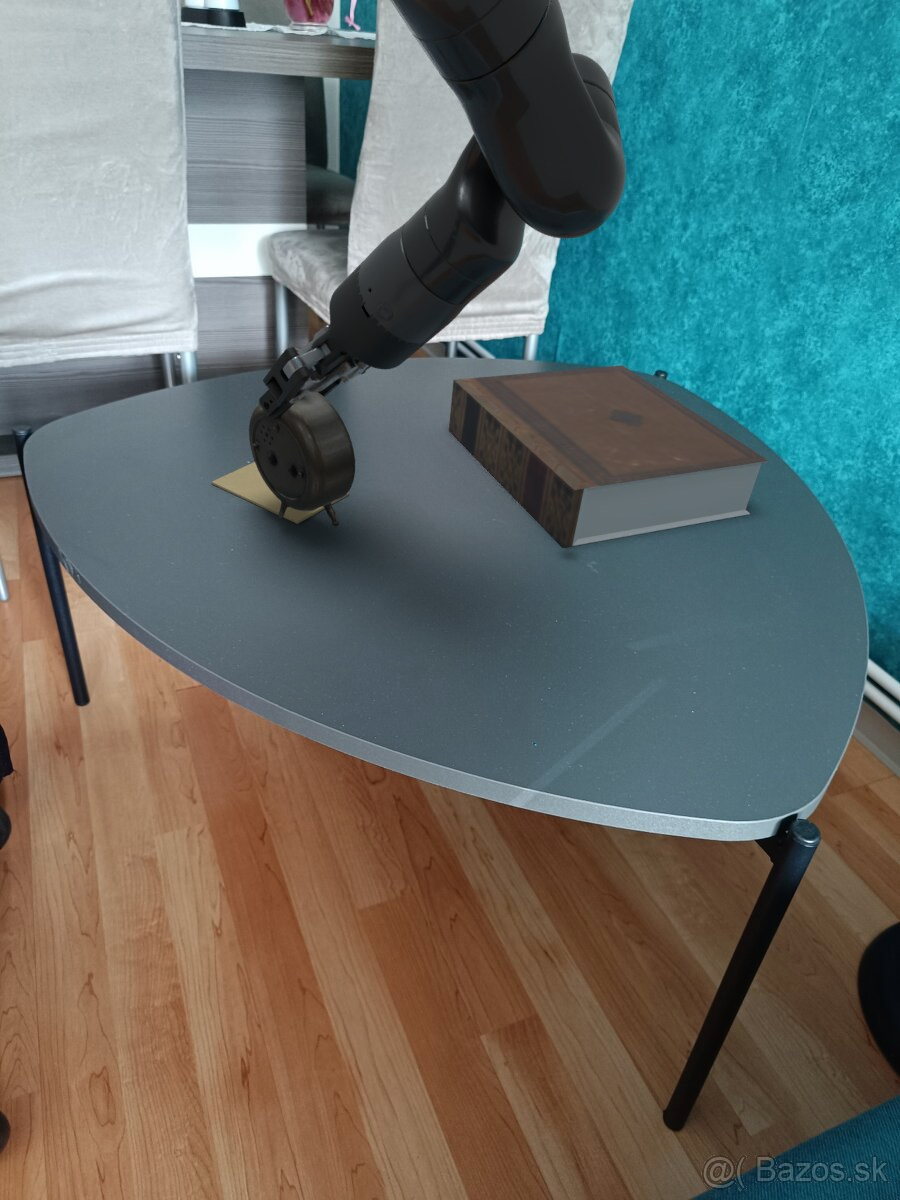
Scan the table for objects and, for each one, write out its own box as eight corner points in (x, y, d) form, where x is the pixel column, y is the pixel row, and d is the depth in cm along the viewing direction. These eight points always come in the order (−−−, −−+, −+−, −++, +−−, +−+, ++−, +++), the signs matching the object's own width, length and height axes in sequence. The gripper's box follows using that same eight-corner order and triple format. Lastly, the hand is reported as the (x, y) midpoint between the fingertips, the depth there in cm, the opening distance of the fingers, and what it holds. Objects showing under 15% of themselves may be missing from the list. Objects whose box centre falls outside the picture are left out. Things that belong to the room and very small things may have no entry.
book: (562, 547, 83) (574, 490, 79) (448, 430, 103) (453, 379, 99) (750, 514, 92) (768, 460, 89) (612, 412, 112) (622, 365, 109)
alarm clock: (357, 526, 80) (361, 360, 70) (313, 545, 76) (311, 374, 67) (286, 483, 85) (281, 325, 76) (242, 498, 82) (231, 335, 73)
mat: (297, 524, 82) (297, 521, 82) (211, 484, 87) (211, 481, 87) (349, 495, 88) (349, 492, 88) (265, 459, 93) (265, 456, 93)
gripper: (430, 238, 67) (319, 346, 79) (311, 267, 57) (204, 386, 69) (478, 320, 68) (361, 414, 80) (369, 363, 58) (253, 464, 70)
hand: (289, 401), depth 75 cm, fingers closed on alarm clock, 5 cm apart
